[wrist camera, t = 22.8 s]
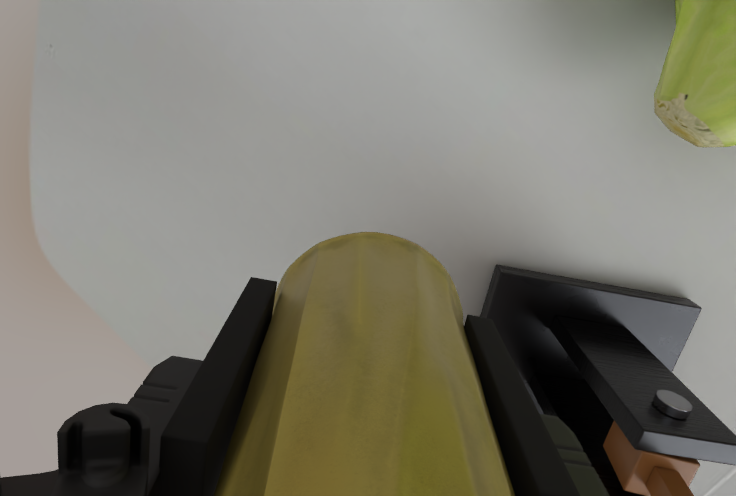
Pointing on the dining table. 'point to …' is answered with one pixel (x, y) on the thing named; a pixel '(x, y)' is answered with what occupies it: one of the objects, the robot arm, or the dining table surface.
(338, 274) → the vase
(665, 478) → the lever
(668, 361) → the stand
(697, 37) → the lettuce
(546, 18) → the dining table surface
